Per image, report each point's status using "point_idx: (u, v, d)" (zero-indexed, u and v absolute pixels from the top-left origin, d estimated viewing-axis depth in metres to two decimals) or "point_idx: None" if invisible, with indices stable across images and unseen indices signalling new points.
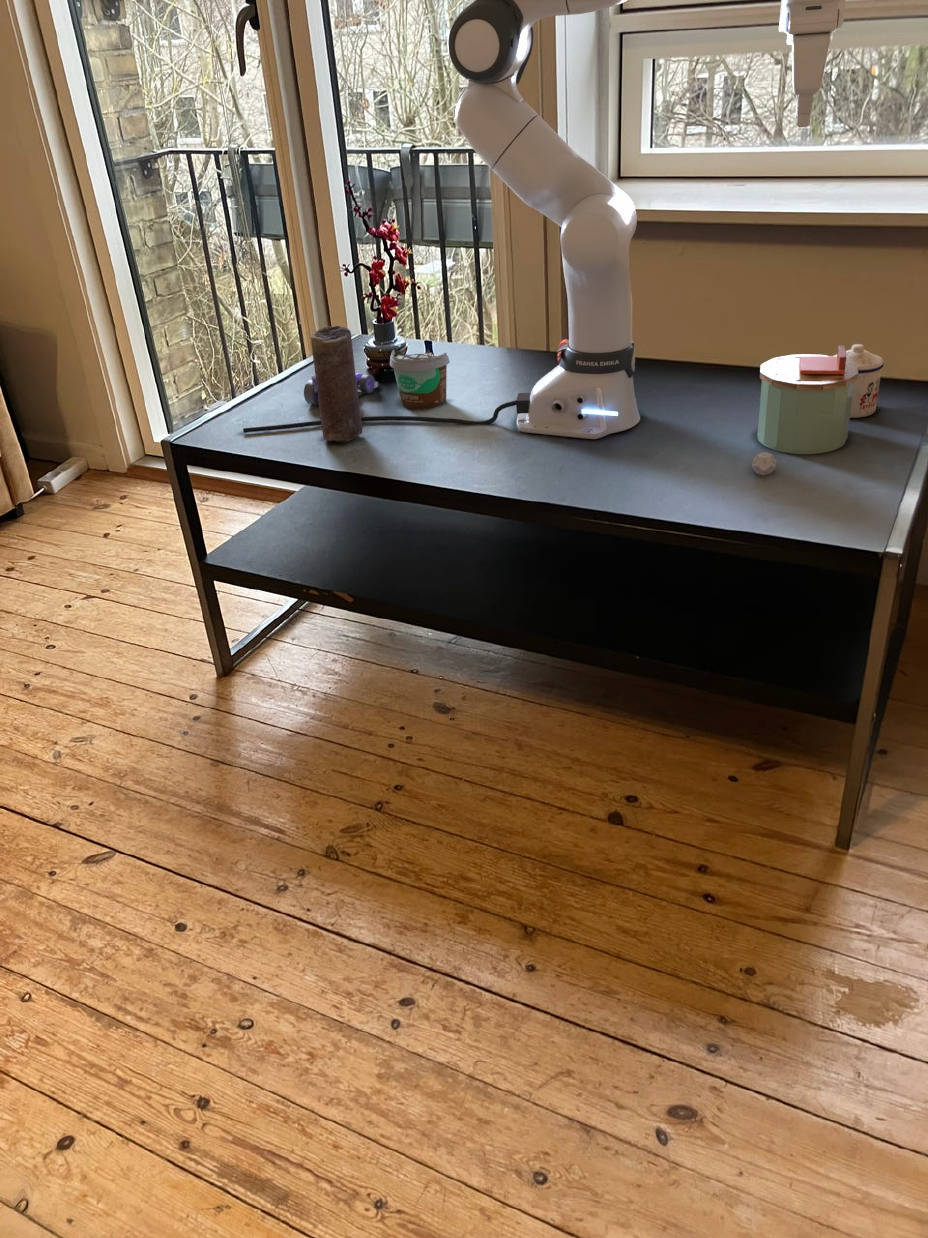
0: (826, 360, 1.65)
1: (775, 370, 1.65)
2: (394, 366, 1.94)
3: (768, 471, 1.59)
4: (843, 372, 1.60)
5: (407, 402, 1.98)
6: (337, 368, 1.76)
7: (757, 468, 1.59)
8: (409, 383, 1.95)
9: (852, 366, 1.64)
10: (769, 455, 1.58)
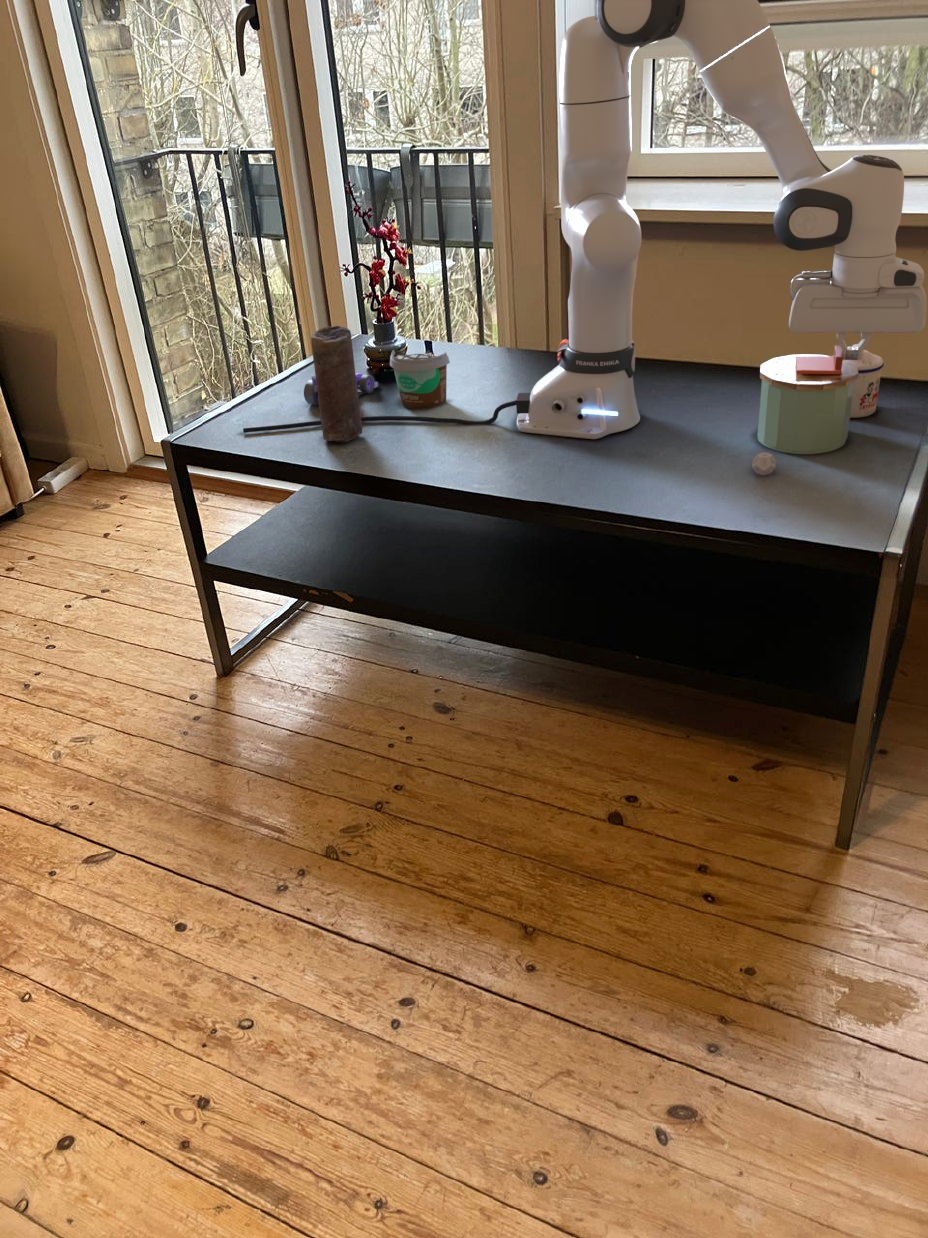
0: (822, 360, 1.65)
1: (775, 370, 1.65)
2: (394, 366, 1.94)
3: (768, 471, 1.59)
4: (839, 372, 1.60)
5: (407, 402, 1.98)
6: (337, 368, 1.76)
7: (757, 468, 1.59)
8: (409, 383, 1.95)
9: (852, 366, 1.64)
10: (769, 455, 1.59)
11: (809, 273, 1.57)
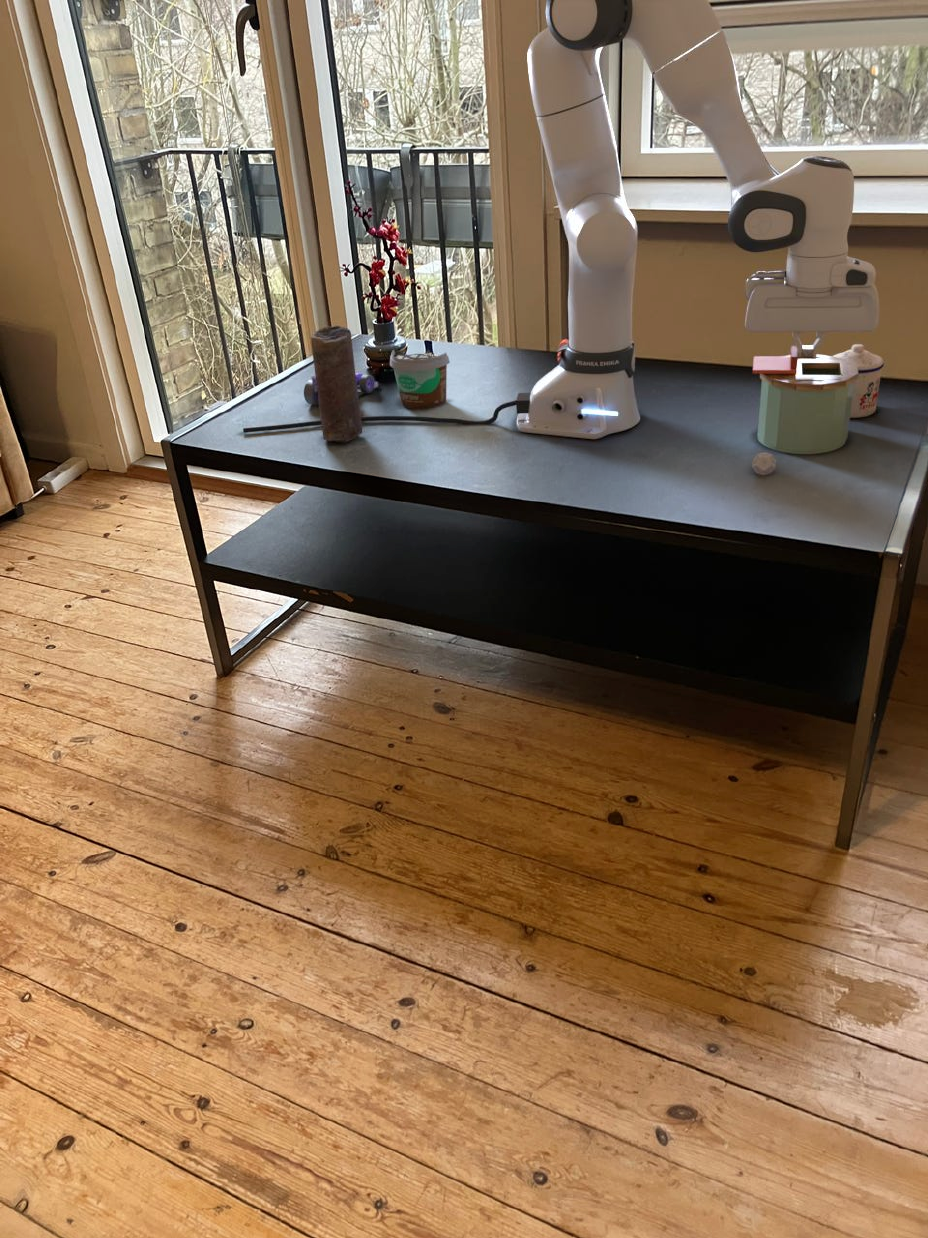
0: (779, 360, 1.67)
1: None
2: (394, 366, 1.94)
3: (768, 471, 1.59)
4: (794, 372, 1.62)
5: (407, 402, 1.98)
6: (337, 368, 1.76)
7: (757, 468, 1.59)
8: (409, 383, 1.95)
9: (852, 366, 1.64)
10: (769, 455, 1.58)
11: (763, 273, 1.58)
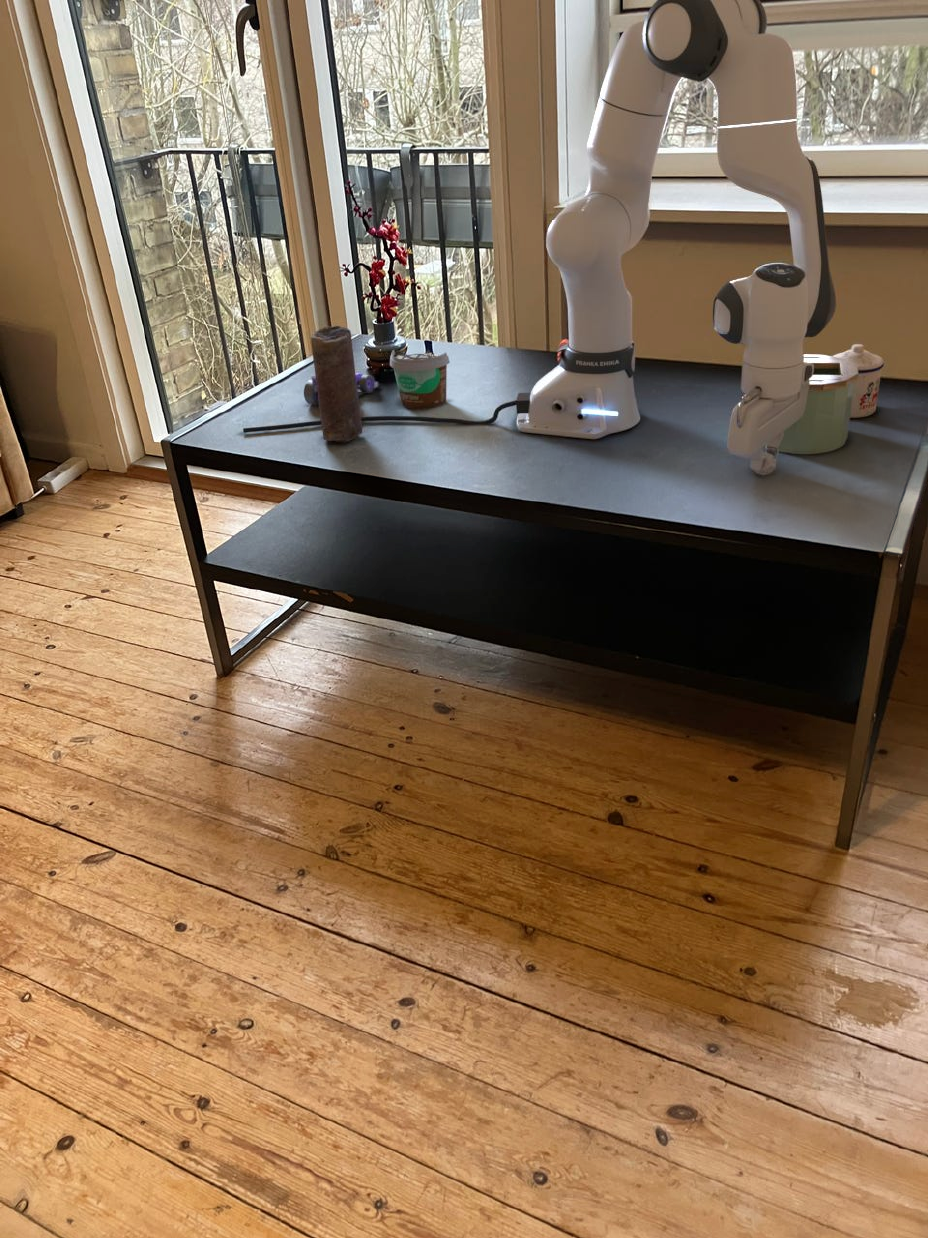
0: None
1: None
2: (394, 366, 1.94)
3: (768, 471, 1.59)
4: None
5: (407, 402, 1.98)
6: (337, 368, 1.76)
7: None
8: (409, 383, 1.95)
9: (852, 366, 1.64)
10: (769, 455, 1.58)
11: (750, 395, 1.47)
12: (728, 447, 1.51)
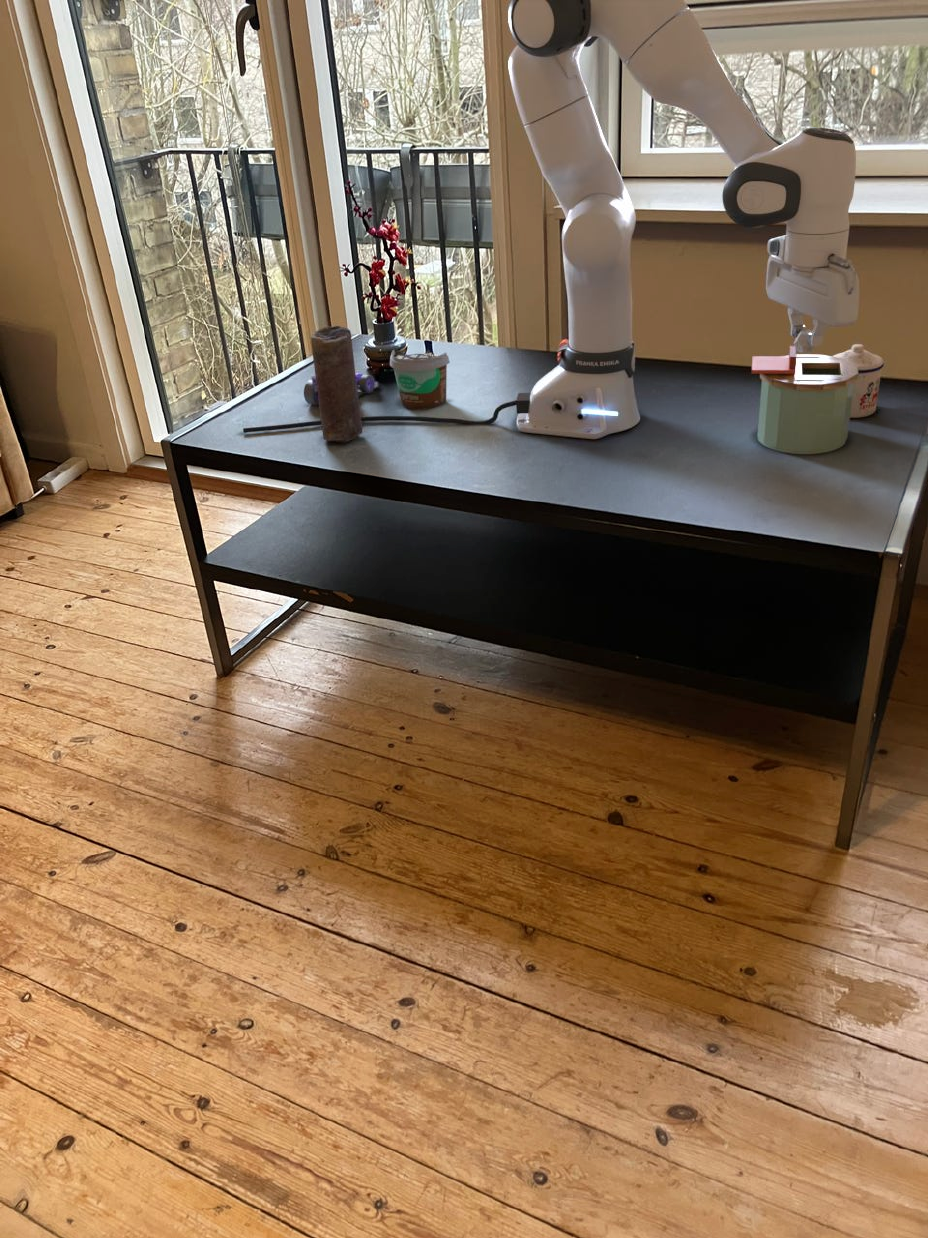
0: (778, 360, 1.67)
1: None
2: (394, 366, 1.94)
3: None
4: (793, 372, 1.62)
5: (407, 402, 1.98)
6: (337, 368, 1.76)
7: (808, 346, 1.56)
8: (409, 383, 1.95)
9: (852, 366, 1.64)
10: (810, 331, 1.56)
11: (847, 260, 1.43)
12: (839, 319, 1.45)
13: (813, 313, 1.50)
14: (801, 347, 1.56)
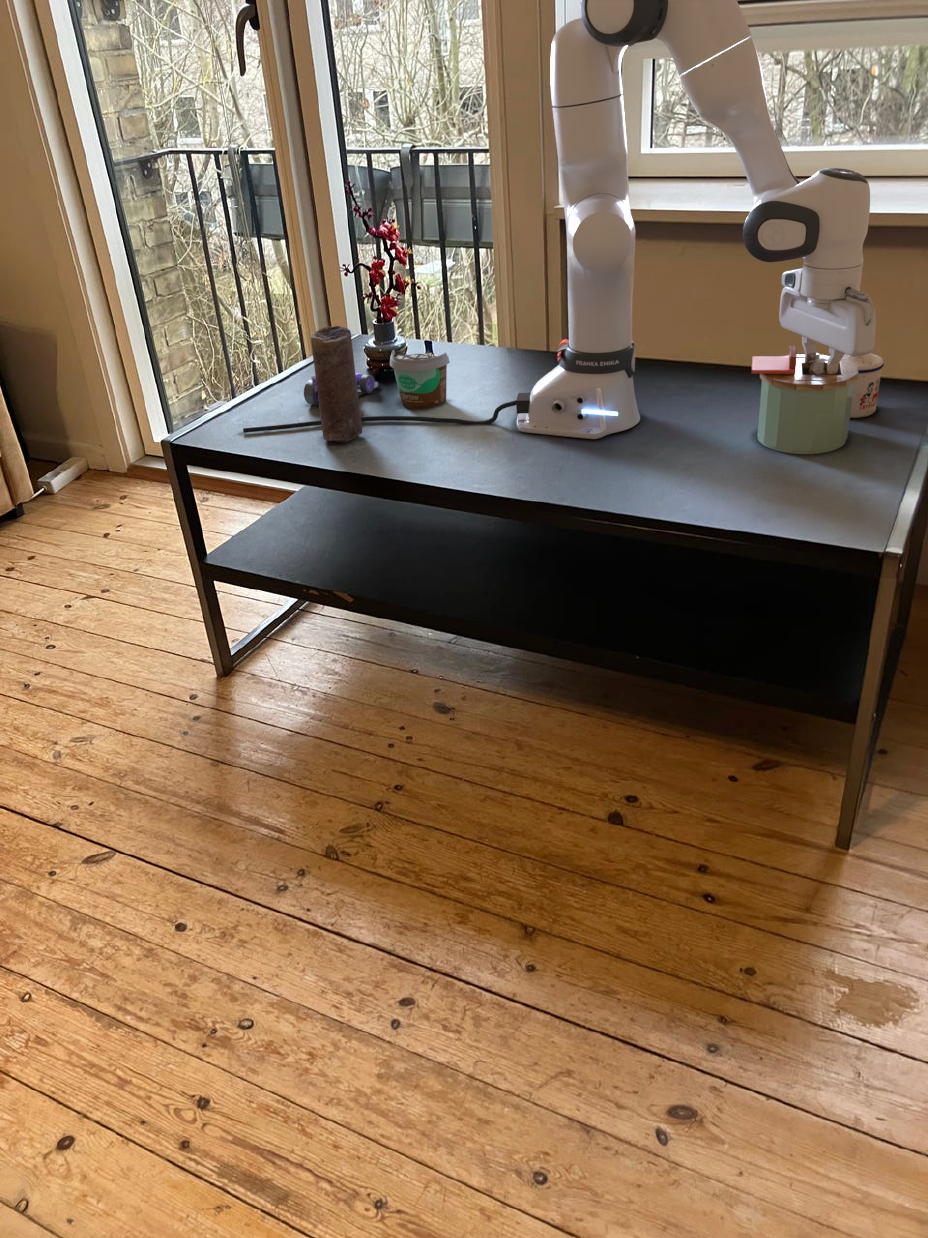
0: (778, 360, 1.67)
1: None
2: (394, 366, 1.94)
3: None
4: (793, 372, 1.62)
5: (407, 402, 1.98)
6: (337, 368, 1.76)
7: (823, 374, 1.63)
8: (409, 383, 1.95)
9: (852, 366, 1.64)
10: (825, 359, 1.64)
11: (864, 293, 1.51)
12: (857, 349, 1.53)
13: (830, 343, 1.58)
14: None
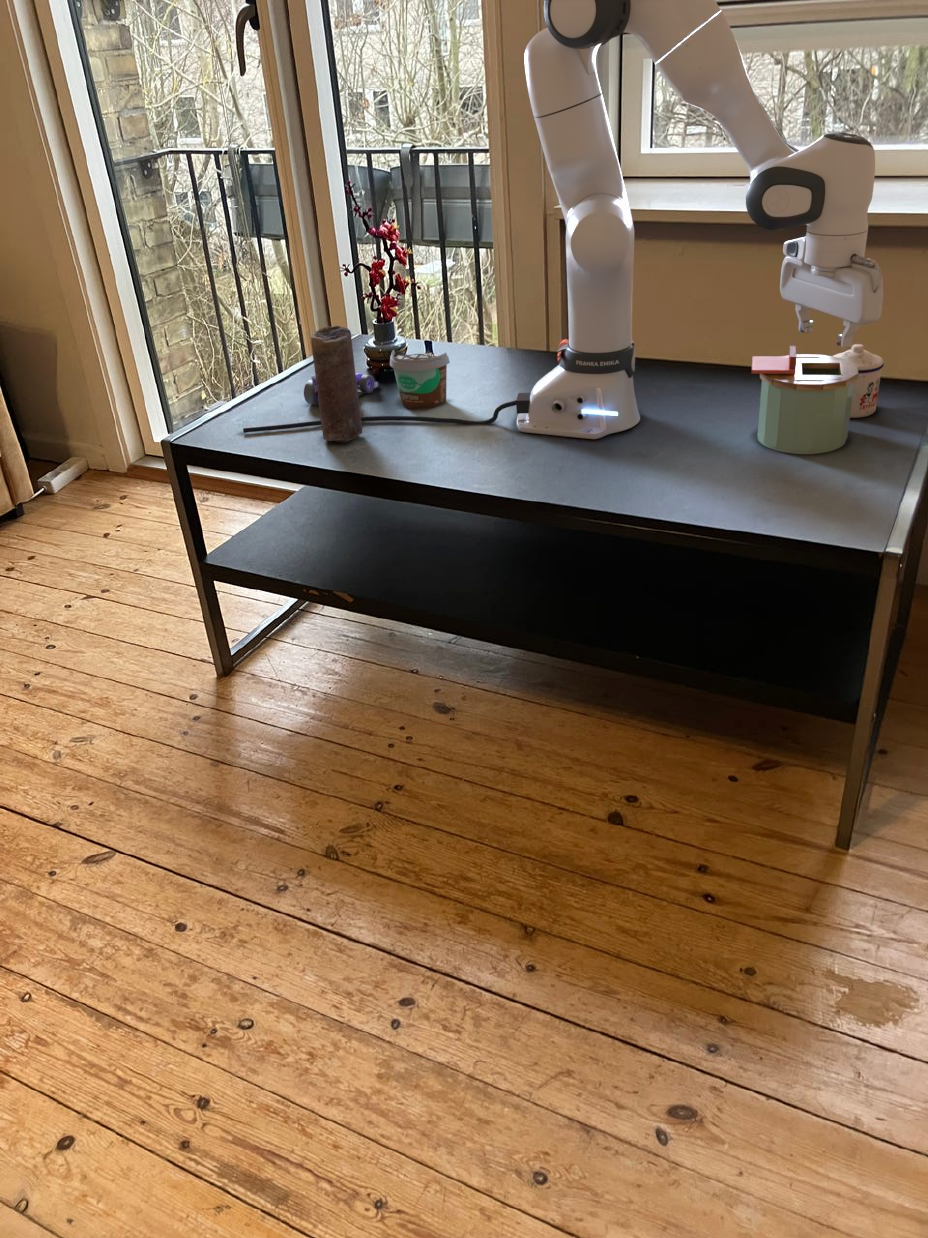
0: (778, 360, 1.67)
1: None
2: (394, 366, 1.94)
3: None
4: (793, 372, 1.62)
5: (407, 402, 1.98)
6: (337, 368, 1.76)
7: None
8: (409, 383, 1.95)
9: (852, 366, 1.64)
10: None
11: None
12: (865, 317, 1.50)
13: (836, 311, 1.55)
14: None
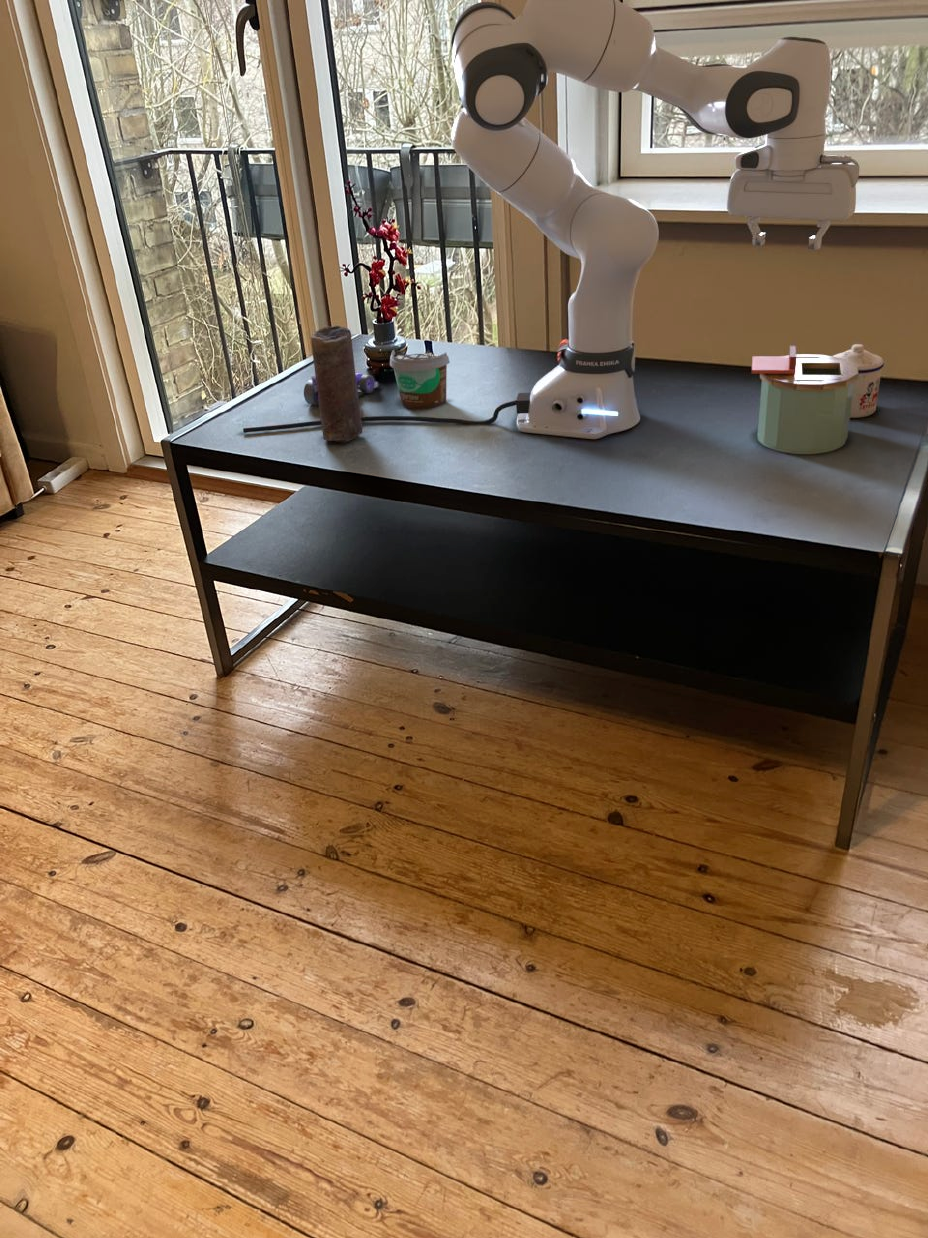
0: (778, 360, 1.67)
1: None
2: (394, 366, 1.94)
3: None
4: (793, 372, 1.62)
5: (407, 402, 1.98)
6: (337, 368, 1.76)
7: None
8: (409, 383, 1.95)
9: (852, 366, 1.64)
10: None
11: None
12: (848, 212, 1.56)
13: (809, 214, 1.59)
14: None
